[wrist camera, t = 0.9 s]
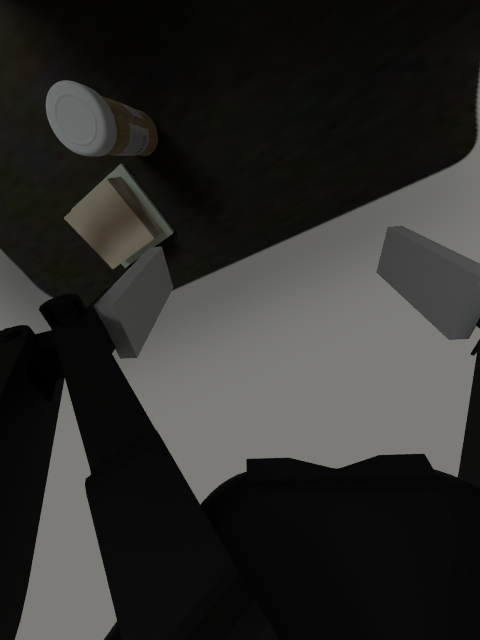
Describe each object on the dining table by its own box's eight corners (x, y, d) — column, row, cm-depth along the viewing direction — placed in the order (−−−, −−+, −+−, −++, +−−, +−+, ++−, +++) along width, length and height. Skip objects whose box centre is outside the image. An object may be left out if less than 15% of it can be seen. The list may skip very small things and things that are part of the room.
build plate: (74, 208, 34) (71, 209, 34) (123, 163, 31) (120, 163, 31) (127, 266, 39) (125, 267, 38) (174, 231, 36) (173, 233, 35)
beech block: (81, 212, 34) (63, 217, 31) (121, 176, 31) (106, 178, 28) (124, 259, 38) (112, 269, 34) (163, 230, 35) (154, 238, 32)
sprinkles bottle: (142, 100, 28) (71, 61, 17) (166, 143, 30) (118, 135, 19) (112, 125, 29) (29, 104, 18) (138, 164, 31) (78, 168, 20)
